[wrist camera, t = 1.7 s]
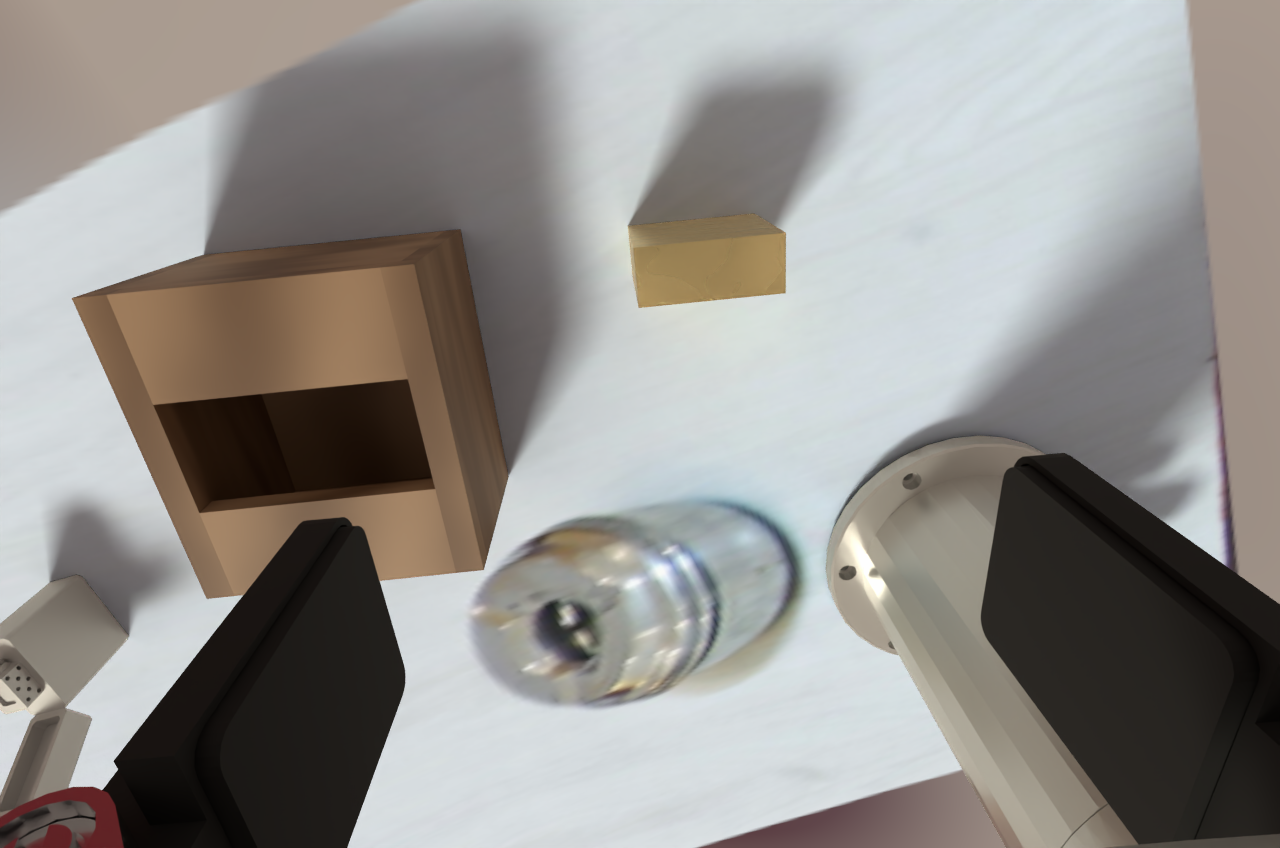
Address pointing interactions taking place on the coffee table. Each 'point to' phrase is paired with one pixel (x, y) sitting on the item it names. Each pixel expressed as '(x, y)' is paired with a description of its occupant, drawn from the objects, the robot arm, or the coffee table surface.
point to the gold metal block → (707, 259)
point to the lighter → (52, 681)
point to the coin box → (310, 401)
